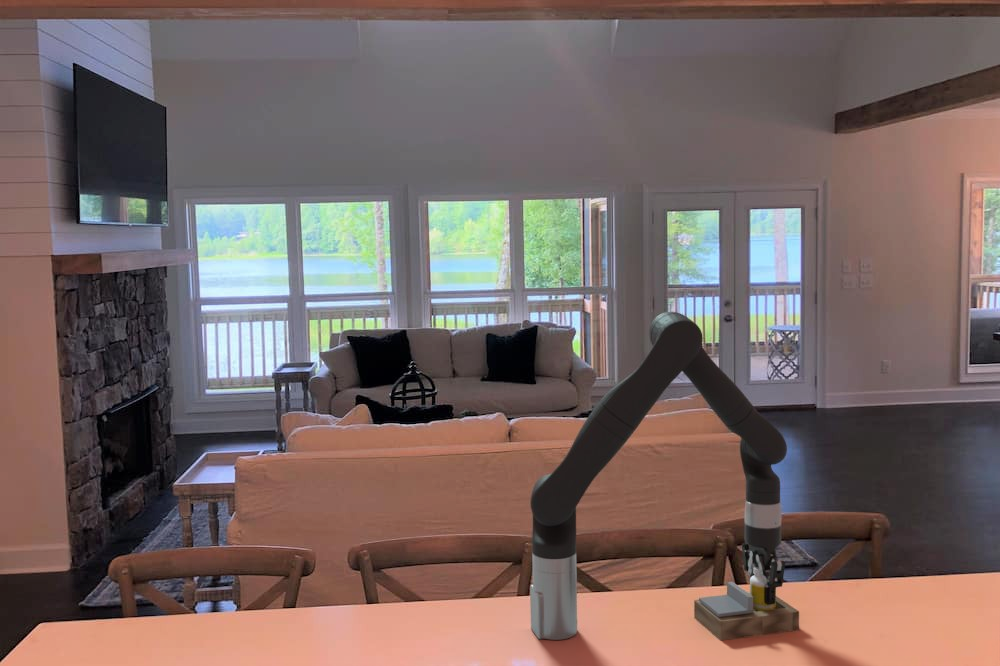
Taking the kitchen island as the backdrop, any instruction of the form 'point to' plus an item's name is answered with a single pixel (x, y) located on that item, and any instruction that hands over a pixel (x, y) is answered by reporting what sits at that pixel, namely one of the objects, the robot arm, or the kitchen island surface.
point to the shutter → (730, 602)
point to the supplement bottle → (759, 591)
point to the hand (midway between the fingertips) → (762, 598)
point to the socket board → (748, 621)
